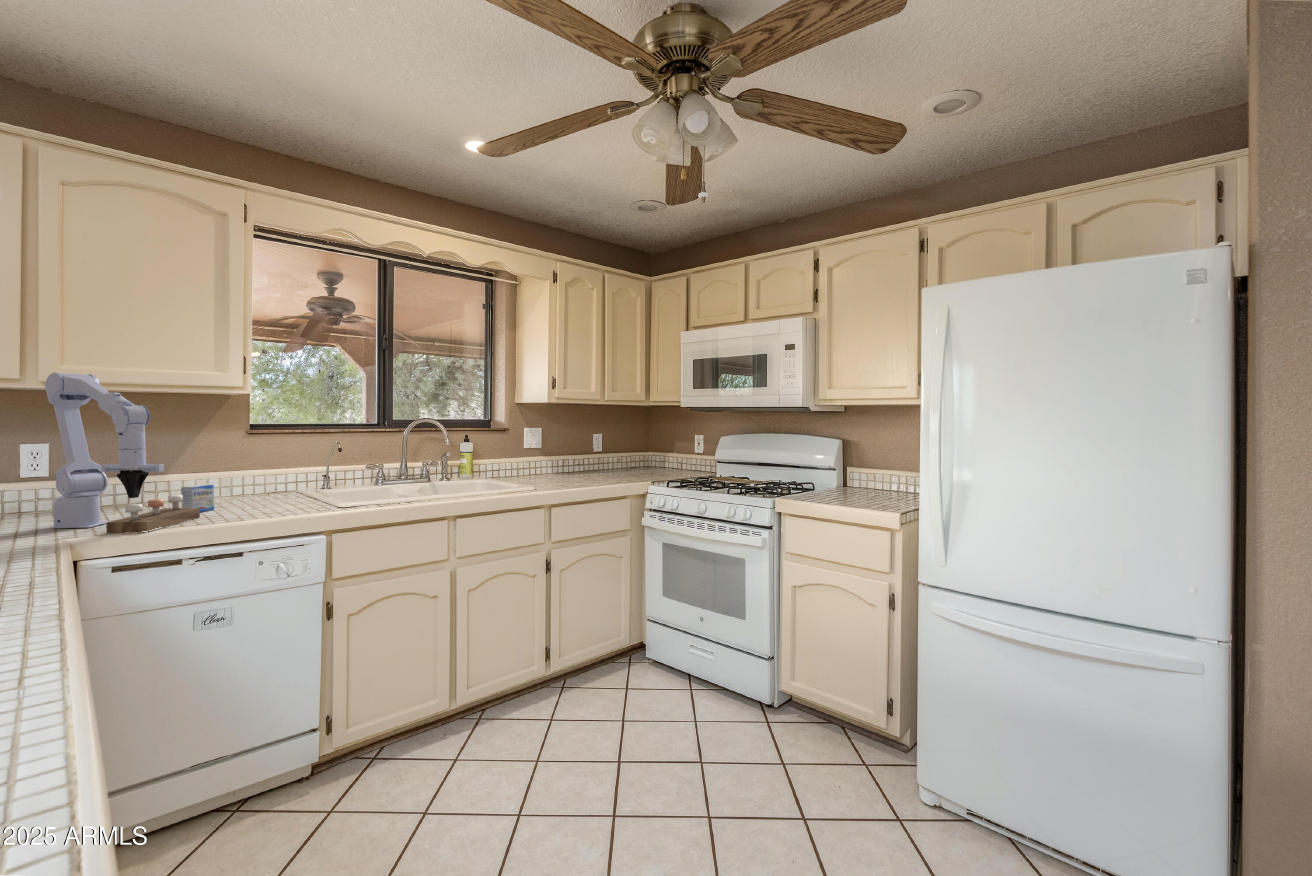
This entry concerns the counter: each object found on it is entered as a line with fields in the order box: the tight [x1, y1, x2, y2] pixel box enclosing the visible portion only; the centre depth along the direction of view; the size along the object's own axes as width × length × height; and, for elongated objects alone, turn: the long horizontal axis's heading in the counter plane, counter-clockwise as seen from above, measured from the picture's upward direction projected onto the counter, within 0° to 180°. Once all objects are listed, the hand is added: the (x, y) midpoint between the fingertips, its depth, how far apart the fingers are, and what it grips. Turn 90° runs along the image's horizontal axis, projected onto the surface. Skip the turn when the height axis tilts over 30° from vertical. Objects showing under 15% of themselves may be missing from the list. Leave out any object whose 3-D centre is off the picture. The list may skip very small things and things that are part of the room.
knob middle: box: [147, 498, 165, 515], centre depth 178 cm, size 4×4×4 cm
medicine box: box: [180, 483, 215, 513], centre depth 202 cm, size 8×4×9 cm, turn 168°
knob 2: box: [167, 494, 183, 510], centre depth 187 cm, size 4×4×4 cm
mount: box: [105, 507, 201, 534], centre depth 178 cm, size 10×24×3 cm, turn 8°
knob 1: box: [124, 503, 143, 521], centre depth 169 cm, size 4×4×4 cm
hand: (133, 497), depth 169 cm, fingers closed
